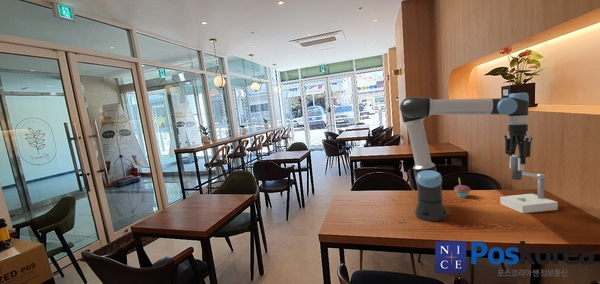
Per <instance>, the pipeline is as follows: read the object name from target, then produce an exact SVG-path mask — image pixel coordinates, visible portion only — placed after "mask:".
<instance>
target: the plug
mask: <svg viewBox="0 0 600 284" xmlns="http://www.w3.org/2000/svg"><path fill="white" fill-rule="evenodd" d="M519 157H520V155H519V153H518V154H517V153H515V154H513V155H512V168H511V179H512V180H515V181H519V180H520V181H522V178H523V175H522V171H523V170H521V171H519V170H518V158H519Z"/></svg>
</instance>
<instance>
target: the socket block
mask: <svg viewBox="0 0 600 284" xmlns="http://www.w3.org/2000/svg"><path fill="white" fill-rule="evenodd" d="M544 193H545V179H539V178H537V194H535V193H523V194H516V195H514V194H513V195H506V196H499V197H500V203H499V204H501V205H502V206H505V207H507V208H510V209H512V210H515V211H517V212H519V213H521V214H528V213H538V212H540V213H541V212H548V211H557V210H558V207H559V203H558V201H555V200H553V199H549V198H547V197H545V196H544Z"/></svg>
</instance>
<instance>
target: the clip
mask: <svg viewBox="0 0 600 284" xmlns="http://www.w3.org/2000/svg"><path fill="white" fill-rule="evenodd" d="M522 176H526V177H531V178H536V179H538V178H539V179H544V180H545V178H546V174H544V173H533V172H528V171H524V170H522Z"/></svg>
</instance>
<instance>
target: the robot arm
mask: <svg viewBox="0 0 600 284" xmlns="http://www.w3.org/2000/svg"><path fill="white" fill-rule="evenodd" d="M529 98H530V96H529V93H528V92H516V93H510V94H509V95H508V97H505V98H504V97H503V98H501V97H499V98H461V99H460V98H457V99H456V98H455V99H454V98H453V99H452V98H451V99H449V98H448V99H432V98H431V97H419V96H415V95H412V96H408V97H406V98H404V99H403V100H402V101H401V102H400V106H399V111H400V114H401V118H402V122H403V123H404V124H405V125H406V127H407V132H408V136H409V141H410V145H411V150H412V151H411V152H412V154H413V160H414V166H413V167H412V169H413V173H414V179H415V183H416V187H417V203H416V206H415V209H414V215H415V216H416V218H417V219H420V220H423V221H427V222H429V221H430V222H440V221H444V220H446V219H447V218H448V217H447V213H448V212H447V210H446V208H445V206H444V203H443V183H442V182H443V177H442V174H441V173H440V172H438V171H437V168H436V164H435V163H434V162H432V158H431V154H430V153H431V152H430V150H429V149H430V147H429V143H428V139H427V134H426V130H425V125H424V120H425V119H426V117H427V118H428V117H430V116H433V115H434V116H436V115H437V116H438V115H440V116H441V115H453V116H454V115H463V116H464V115H493V116H495V115H498V116H499V115H500V116H501V115H502V116H508V121H507V123H508V127H507V128H508V129H507V131H508V132H509V134H507V135H506V134H505V135H504V142H505V143H504V145H505V147H504V148H505V150H504V151H505V154H506V155H508V161H509V169H512V155H513V154H516V150H518V154H519V155H520V157H519V158H518V170H519V171H521V170H522V171H525V165H526V162H527V161H526V158H530V157H531V151H532V150H531V149H532V148H531V147H532V141H533V137H531V136H528V135H527V132H528V130H529V125H528V123H529V104H530V99H529ZM517 147H518V149H517Z"/></svg>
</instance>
